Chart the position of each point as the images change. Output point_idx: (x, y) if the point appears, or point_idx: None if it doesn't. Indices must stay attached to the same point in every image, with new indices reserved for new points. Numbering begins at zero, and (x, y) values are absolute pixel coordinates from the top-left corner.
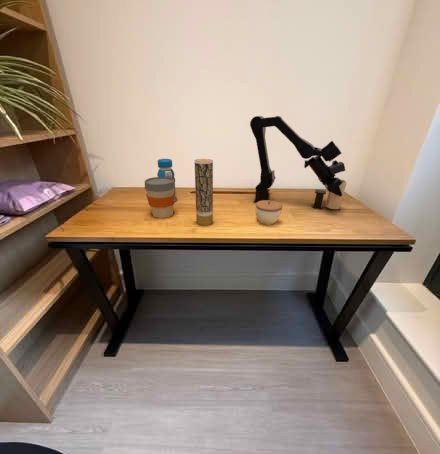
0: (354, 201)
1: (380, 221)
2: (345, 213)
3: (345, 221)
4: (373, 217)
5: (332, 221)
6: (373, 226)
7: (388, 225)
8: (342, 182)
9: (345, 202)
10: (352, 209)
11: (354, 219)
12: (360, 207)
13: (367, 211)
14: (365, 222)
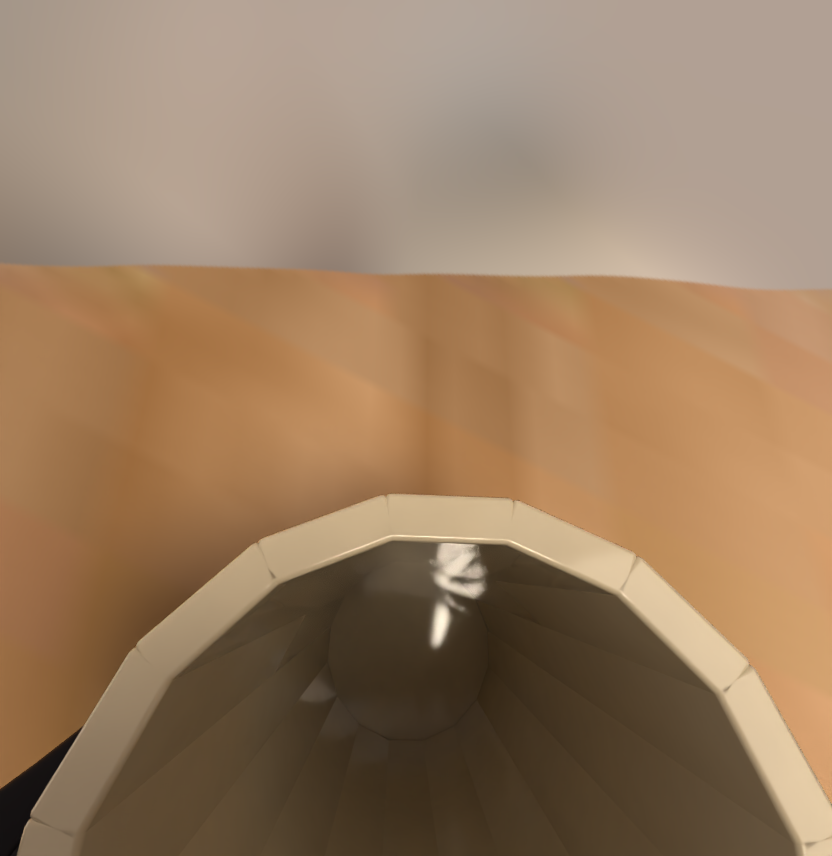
0: (204, 273)
1: (698, 315)
2: None
3: (778, 651)
4: (616, 322)
5: None
6: (829, 428)
7: (770, 302)
8: (320, 576)
9: (216, 372)
10: (425, 402)
11: (699, 520)
12: (373, 302)
13: (476, 296)
14: (752, 450)
